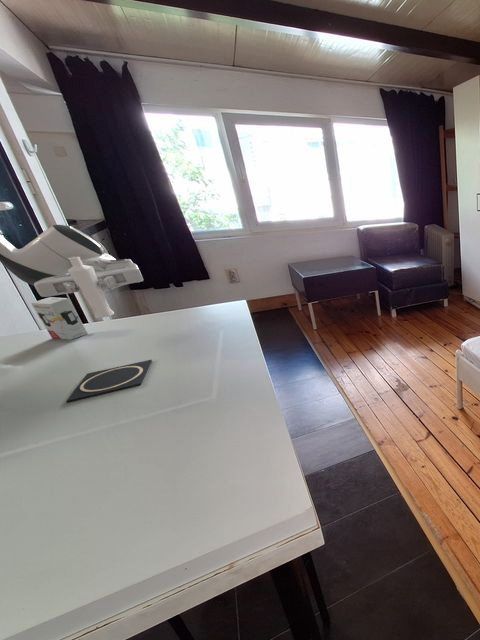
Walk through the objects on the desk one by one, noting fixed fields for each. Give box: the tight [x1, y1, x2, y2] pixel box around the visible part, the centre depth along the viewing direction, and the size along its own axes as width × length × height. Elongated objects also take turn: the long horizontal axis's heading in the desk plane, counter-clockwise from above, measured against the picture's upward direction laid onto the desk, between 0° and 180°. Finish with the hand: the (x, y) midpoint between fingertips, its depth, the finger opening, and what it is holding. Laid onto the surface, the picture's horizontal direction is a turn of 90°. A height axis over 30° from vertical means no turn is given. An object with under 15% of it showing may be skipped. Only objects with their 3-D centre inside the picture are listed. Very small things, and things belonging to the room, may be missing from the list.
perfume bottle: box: [68, 257, 115, 320], centre depth 91 cm, size 5×4×15 cm
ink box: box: [30, 296, 89, 341], centre depth 111 cm, size 9×5×12 cm, turn 76°
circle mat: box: [66, 359, 153, 403], centre depth 88 cm, size 13×14×1 cm
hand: (88, 286), depth 90 cm, fingers closed on perfume bottle, 4 cm apart
